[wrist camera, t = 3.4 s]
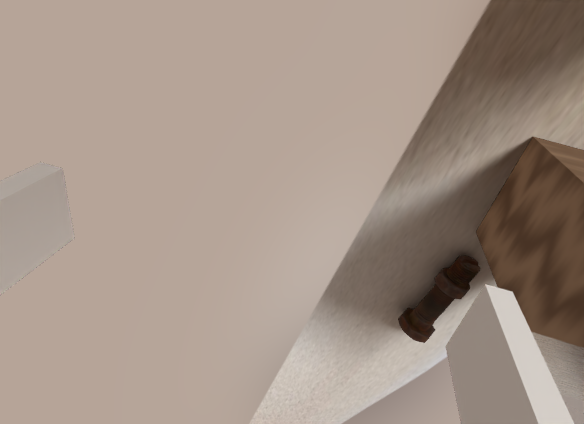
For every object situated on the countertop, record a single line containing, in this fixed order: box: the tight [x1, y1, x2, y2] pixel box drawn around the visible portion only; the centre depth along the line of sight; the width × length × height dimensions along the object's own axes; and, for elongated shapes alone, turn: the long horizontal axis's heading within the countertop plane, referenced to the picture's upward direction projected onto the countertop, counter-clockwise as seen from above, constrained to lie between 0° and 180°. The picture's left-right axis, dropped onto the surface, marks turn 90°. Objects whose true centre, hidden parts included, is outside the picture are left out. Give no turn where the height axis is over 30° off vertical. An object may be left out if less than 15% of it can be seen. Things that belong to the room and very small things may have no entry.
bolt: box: [398, 255, 480, 343], centre depth 54 cm, size 6×5×15 cm
